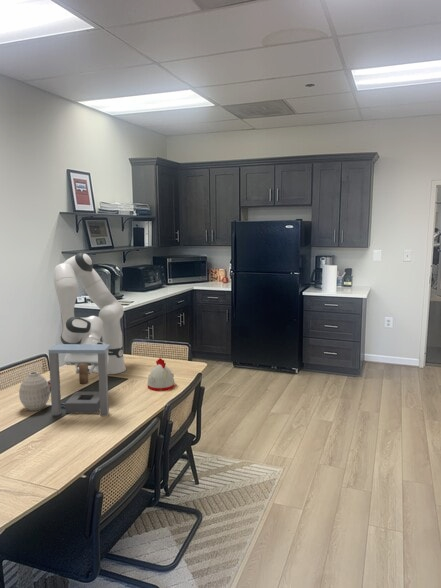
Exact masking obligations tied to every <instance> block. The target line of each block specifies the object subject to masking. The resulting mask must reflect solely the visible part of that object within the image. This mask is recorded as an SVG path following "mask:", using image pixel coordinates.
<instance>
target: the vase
mask: <svg viewBox="0 0 441 588" xmlns="http://www.w3.org/2000/svg"><path fill="white" fill-rule="evenodd" d="M47 381H48V380H47V379H46V378H45V377H44V376H43V375H41V374H40V372H38V371H30V372H29V373H28V375H27V376H26V377H25V378H24V379H23V380H22V382H21V384H20V386H19V389H18V394H19V395H18V396H19V397H18V398H19V401H20V403H21V404H22V405H23V407H24V408H26V409H27V411H30V412H31V411H32V412H35V411H40V410H42V409H43V408H44V407H45V406H46V405H47V404H48V401H49V399H50V397H51V391H50V387H49V384H48V382H47Z"/></svg>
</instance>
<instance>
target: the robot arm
mask: <svg viewBox="0 0 441 588" xmlns="http://www.w3.org/2000/svg"><path fill="white" fill-rule="evenodd" d="M92 259H93V258H92V257H91V256H90V255H89V254H88V253H86V252H79V253H76V254H75V255H73V256H71V257H69V258H67V259H66V260H65V261H64V262H62V263H58V264H57V265H56V266H55V267H54V269H53V283H54V288H55V293H56V296H57V300H58V305H59V309H60V317H61V324H62V325H61V326H62V331H61V334H60V341H61V344H110V348H109V350H108V351H107V375H115V374H116V375H117V374H121V373H123V372H125V371H127V367H126V364H125V359H124V357H125V356H124V350H125V349H124V344H123V331H122V327H121V322H120V321H121V319H122V318H123V316H124V311H125V309H124V307H123V305H122V304H121V303H120V302H119V301H118V300H117V298H116V297H115V296H114V294H113V293H111V291H110V289H108V287H107V285H106V284H105V282H104V281H103V279H102V277H101V276H100V275H99V274H98V272H97V271H96V270H95V269H94V268H93V266H94V263H93V260H92ZM78 281H79V283H80V284H81V286H82V289H83V291H85V293H86V294H87V296H88V298H89V299H90V300H91V302H93V303H94V304H95V305H96V306H97V308H98V309H100V310H99V312H98V315H97V316H96V315H89V316H87V317H80V316H75V305H76V302H77V298H78V294H79V283H78ZM101 340H102V341H101ZM63 362H64V364H65V365H66V366H74V367H75V374H78V375H79V364H81V363H88V371H87V373H88V375H91V374H92V373H94V374H95V373H96V374H98V375H99V372H98V354H94V353H65V356H64V358H63Z"/></svg>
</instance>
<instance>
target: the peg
mask: <svg viewBox="0 0 441 588" xmlns="http://www.w3.org/2000/svg"><path fill="white" fill-rule="evenodd" d="M88 367H89V366H88V363H81V364H79V367H78V369H79V374H78V376H79V381H78V382H79V385H84V386H85V385H87V384H89V374H88V373H87V371H88Z"/></svg>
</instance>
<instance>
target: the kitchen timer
mask: <svg viewBox="0 0 441 588" xmlns="http://www.w3.org/2000/svg"><path fill="white" fill-rule="evenodd" d="M155 362H156V363H155V364H156V366H154V367H153V368H152V369H151V372H150V373H149V374H148V379H147V388H148V389H149V390H150V391H154V392H164V391H165V392H166V391H171V390H172V389H174V388H175V383H176V382H175V378H174V377H175V376H174V372H173V371H171V369H170V368H169V367H168V366H167V365H166V363H167V362H165V359H163V358H161V357H159V358H158V359H156V361H155Z"/></svg>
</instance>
